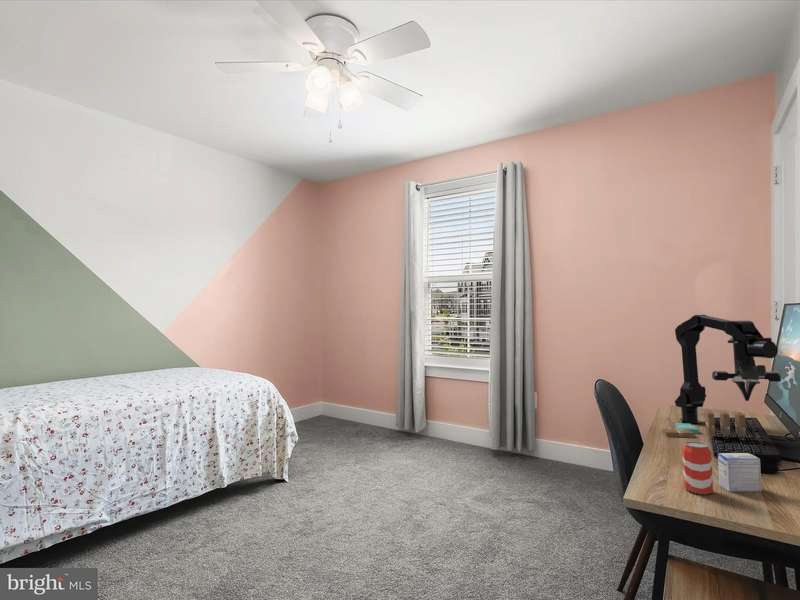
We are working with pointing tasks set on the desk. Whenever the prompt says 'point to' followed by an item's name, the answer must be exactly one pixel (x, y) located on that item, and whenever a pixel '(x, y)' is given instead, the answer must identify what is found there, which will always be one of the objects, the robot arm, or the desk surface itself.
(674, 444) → the desk surface
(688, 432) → the domino
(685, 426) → the end domino
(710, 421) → the domino
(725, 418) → the domino
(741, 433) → the domino
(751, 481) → the medicine box
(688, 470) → the beverage can
